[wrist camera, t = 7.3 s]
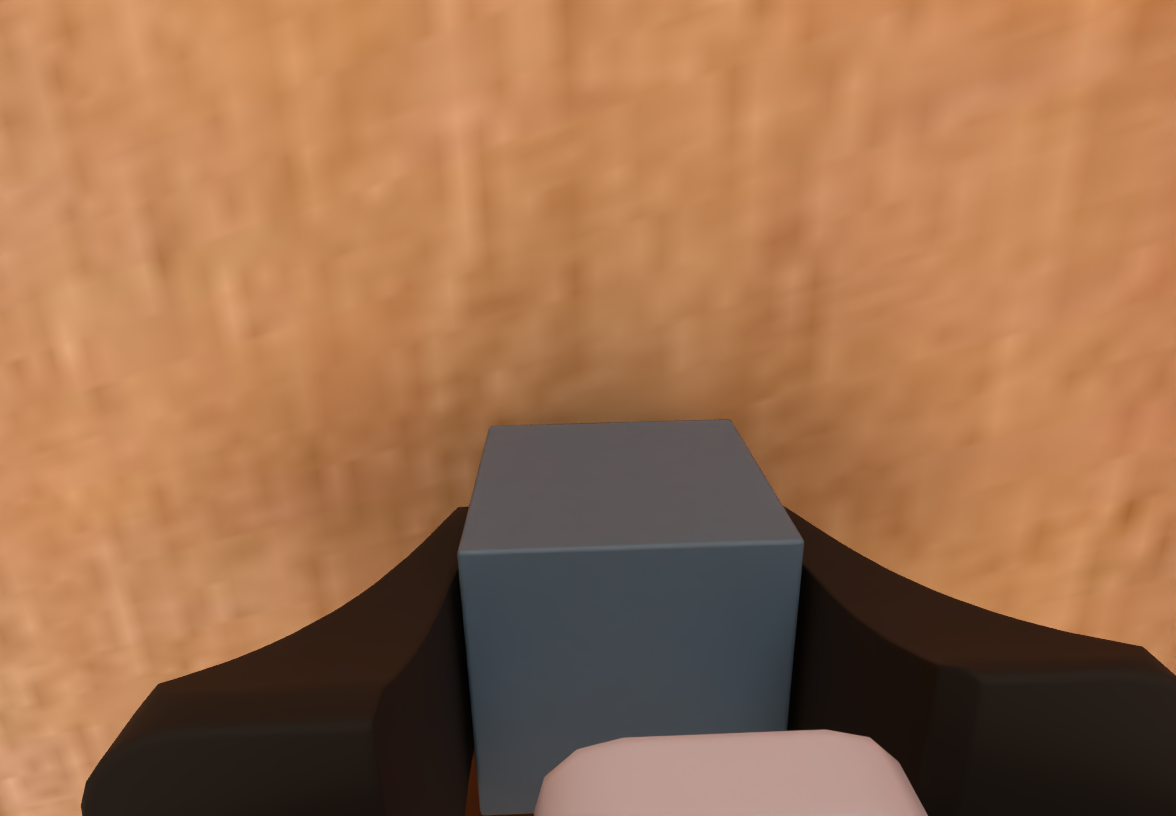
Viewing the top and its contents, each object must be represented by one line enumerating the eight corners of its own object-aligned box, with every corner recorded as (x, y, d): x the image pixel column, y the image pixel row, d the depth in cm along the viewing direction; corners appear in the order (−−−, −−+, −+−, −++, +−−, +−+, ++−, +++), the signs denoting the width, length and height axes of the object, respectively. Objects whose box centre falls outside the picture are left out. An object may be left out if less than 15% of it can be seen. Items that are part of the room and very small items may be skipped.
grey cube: (720, 622, 15) (781, 804, 11) (502, 629, 15) (479, 817, 11) (731, 417, 14) (806, 540, 9) (488, 424, 13) (456, 551, 9)
